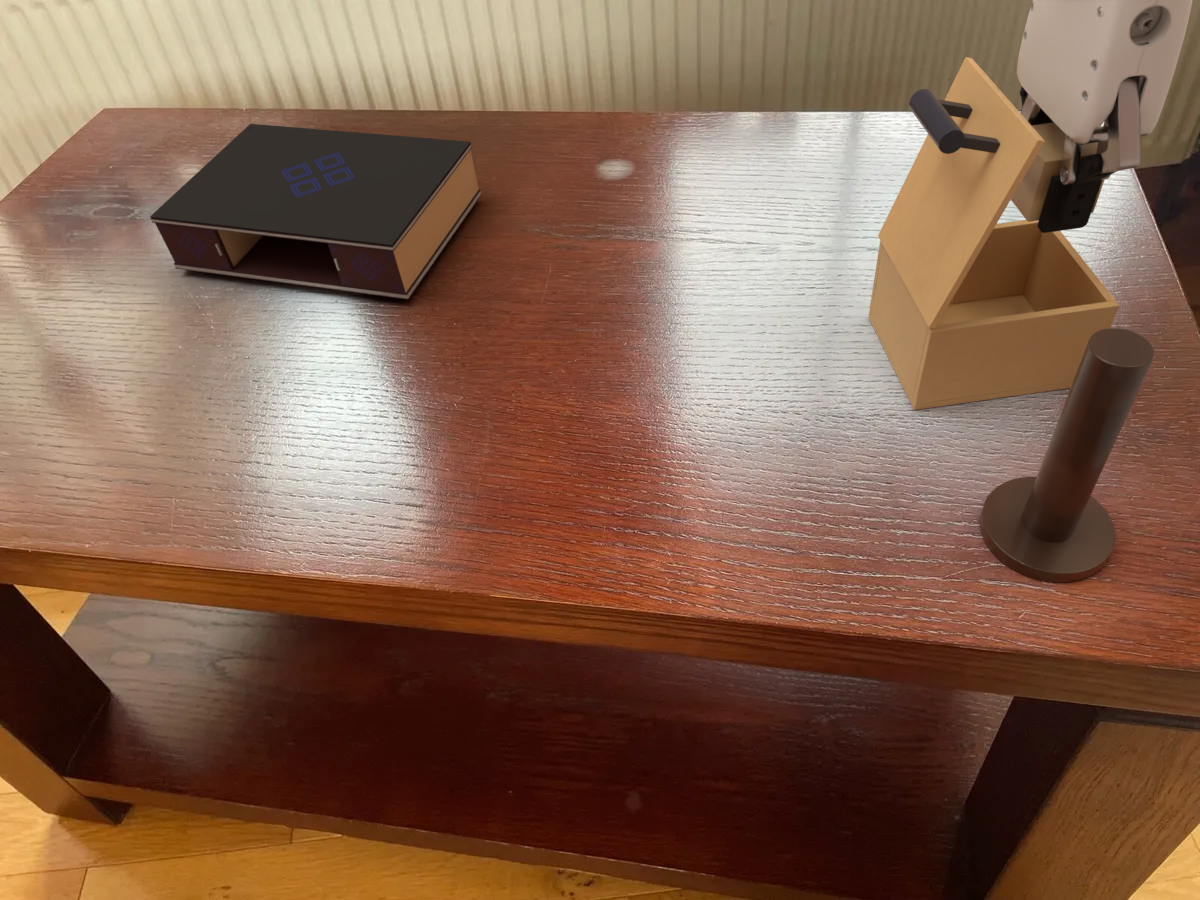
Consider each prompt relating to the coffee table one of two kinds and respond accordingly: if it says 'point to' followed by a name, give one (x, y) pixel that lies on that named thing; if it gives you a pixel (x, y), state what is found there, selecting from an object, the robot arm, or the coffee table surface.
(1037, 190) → the block
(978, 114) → the carton flap
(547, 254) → the coffee table surface
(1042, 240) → the carton
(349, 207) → the black flat box
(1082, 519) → the stand
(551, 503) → the coffee table surface
